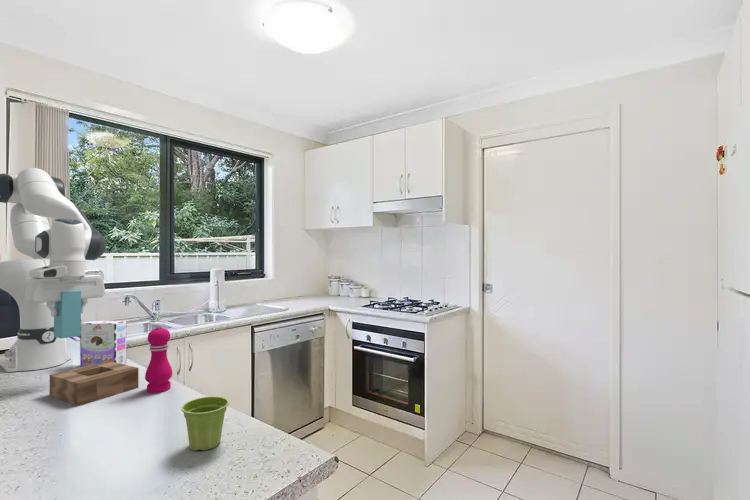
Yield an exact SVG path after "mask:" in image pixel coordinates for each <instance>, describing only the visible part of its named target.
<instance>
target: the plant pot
mask: <svg viewBox="0 0 750 500" xmlns="http://www.w3.org/2000/svg"><path fill="white" fill-rule="evenodd" d="M229 403H230V401H229V399H228V398H226V397H223V396H218V395H217V396H216V395H215V396H211V395H210V396H202V397H198V398H194V399H191V400H189V401H187V402H185V403H184V404H182V406H181V407H180V408H181V409H180V410H181V412H182V413H183V417H184V419H185V423H186V428H187V437H188V438H187V439H188V444H189V445H188V447H189V449H191V450H192V451H199V450H202V451H208V450H210V449H213V448H216V447H217V446H219V443H220V442H221V440H222V432H223V426H224V419H225V414H226V412H227V407H228V406H229Z"/></svg>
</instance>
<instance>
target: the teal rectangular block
mask: <svg viewBox="0 0 750 500" xmlns="http://www.w3.org/2000/svg"><path fill="white" fill-rule="evenodd" d="M54 308H55V309H56V310H59V316H55V317H54V337H57V338H65V339H66V338H67V339H69V338H72V337H80V335H81V323H82V321H81V320H82V313H81V291H73V292H61V301H56V302H55V305H54Z"/></svg>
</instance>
